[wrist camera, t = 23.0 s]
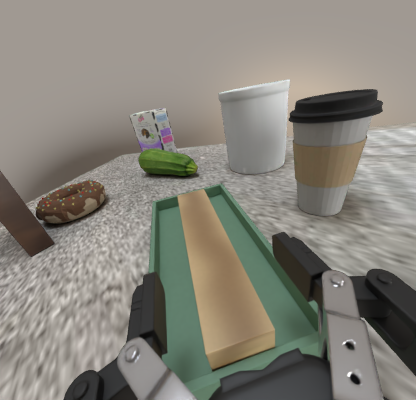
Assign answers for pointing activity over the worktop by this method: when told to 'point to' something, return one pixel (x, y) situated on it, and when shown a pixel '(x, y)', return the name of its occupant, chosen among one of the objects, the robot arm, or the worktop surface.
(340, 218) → the worktop surface
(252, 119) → the utensil holder
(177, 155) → the vegetable
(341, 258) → the worktop surface
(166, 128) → the candy box
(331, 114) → the coffee cup
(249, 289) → the beech stick
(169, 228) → the tray
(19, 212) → the walnut stand
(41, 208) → the donut
